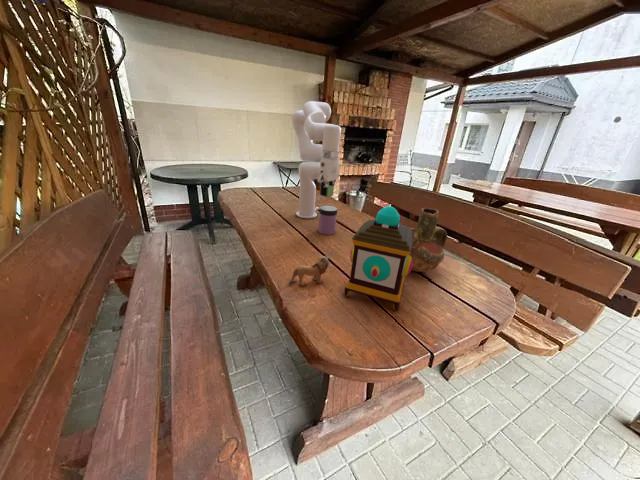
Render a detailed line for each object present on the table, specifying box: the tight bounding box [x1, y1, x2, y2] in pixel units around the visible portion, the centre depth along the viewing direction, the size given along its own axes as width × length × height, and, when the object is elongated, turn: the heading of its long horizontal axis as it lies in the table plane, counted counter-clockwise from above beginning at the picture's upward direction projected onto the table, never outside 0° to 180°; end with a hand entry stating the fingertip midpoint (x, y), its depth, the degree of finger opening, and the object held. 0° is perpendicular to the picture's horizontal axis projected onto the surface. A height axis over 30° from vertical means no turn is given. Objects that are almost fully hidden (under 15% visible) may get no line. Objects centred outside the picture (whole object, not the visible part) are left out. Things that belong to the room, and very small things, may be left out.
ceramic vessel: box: [409, 207, 448, 273], centre depth 101 cm, size 17×26×25 cm, turn 117°
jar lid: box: [318, 205, 338, 216], centre depth 133 cm, size 9×9×2 cm
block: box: [319, 184, 335, 198], centre depth 124 cm, size 4×4×4 cm
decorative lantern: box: [343, 205, 414, 312], centre depth 84 cm, size 20×20×30 cm
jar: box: [317, 213, 338, 236], centre depth 135 cm, size 9×9×12 cm
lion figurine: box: [288, 255, 330, 287], centre depth 90 cm, size 15×5×9 cm, turn 116°
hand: (326, 194), depth 125 cm, fingers closed on block, 4 cm apart
